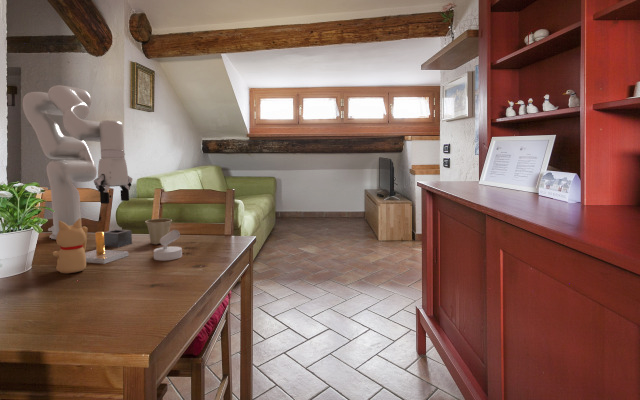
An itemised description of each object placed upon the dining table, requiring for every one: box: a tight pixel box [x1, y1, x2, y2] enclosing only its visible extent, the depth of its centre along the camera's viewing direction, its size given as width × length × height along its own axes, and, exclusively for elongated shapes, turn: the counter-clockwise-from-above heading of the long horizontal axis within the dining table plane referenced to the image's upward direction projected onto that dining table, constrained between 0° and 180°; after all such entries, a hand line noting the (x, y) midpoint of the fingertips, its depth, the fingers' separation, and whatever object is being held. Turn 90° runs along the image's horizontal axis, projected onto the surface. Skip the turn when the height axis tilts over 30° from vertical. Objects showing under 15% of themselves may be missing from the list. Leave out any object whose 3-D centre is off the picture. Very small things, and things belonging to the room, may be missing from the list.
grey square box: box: [103, 229, 133, 248], centre depth 141 cm, size 7×7×5 cm
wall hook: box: [153, 229, 183, 261], centre depth 123 cm, size 9×10×10 cm
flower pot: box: [144, 218, 173, 245], centre depth 145 cm, size 9×9×9 cm
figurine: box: [52, 218, 89, 274], centre depth 108 cm, size 9×10×15 cm
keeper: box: [85, 231, 129, 265], centre depth 121 cm, size 12×10×8 cm
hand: (115, 202), depth 140 cm, fingers open, 9 cm apart
